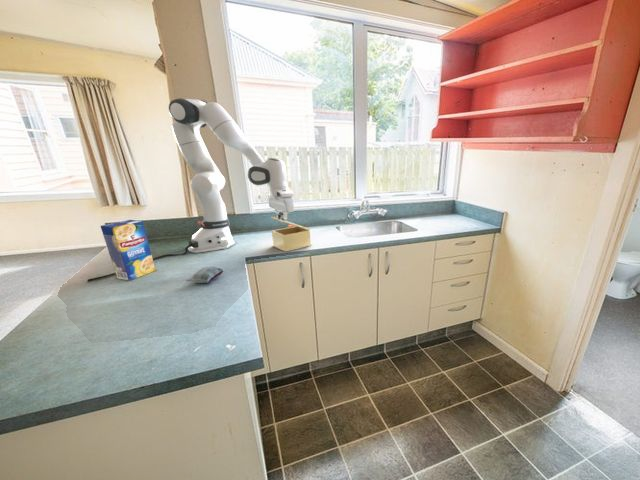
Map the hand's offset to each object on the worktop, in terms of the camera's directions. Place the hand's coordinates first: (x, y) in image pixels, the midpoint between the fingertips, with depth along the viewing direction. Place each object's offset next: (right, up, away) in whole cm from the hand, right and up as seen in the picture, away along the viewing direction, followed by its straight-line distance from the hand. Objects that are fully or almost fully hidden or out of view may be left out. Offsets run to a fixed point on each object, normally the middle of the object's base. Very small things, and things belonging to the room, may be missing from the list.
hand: (282, 218), depth 155 cm
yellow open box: (+3, -14, +9) cm, 17 cm away
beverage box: (-51, -28, -31) cm, 65 cm away
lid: (+3, -3, +5) cm, 6 cm away
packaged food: (-19, -30, -35) cm, 50 cm away
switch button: (-5, -2, +30) cm, 30 cm away
